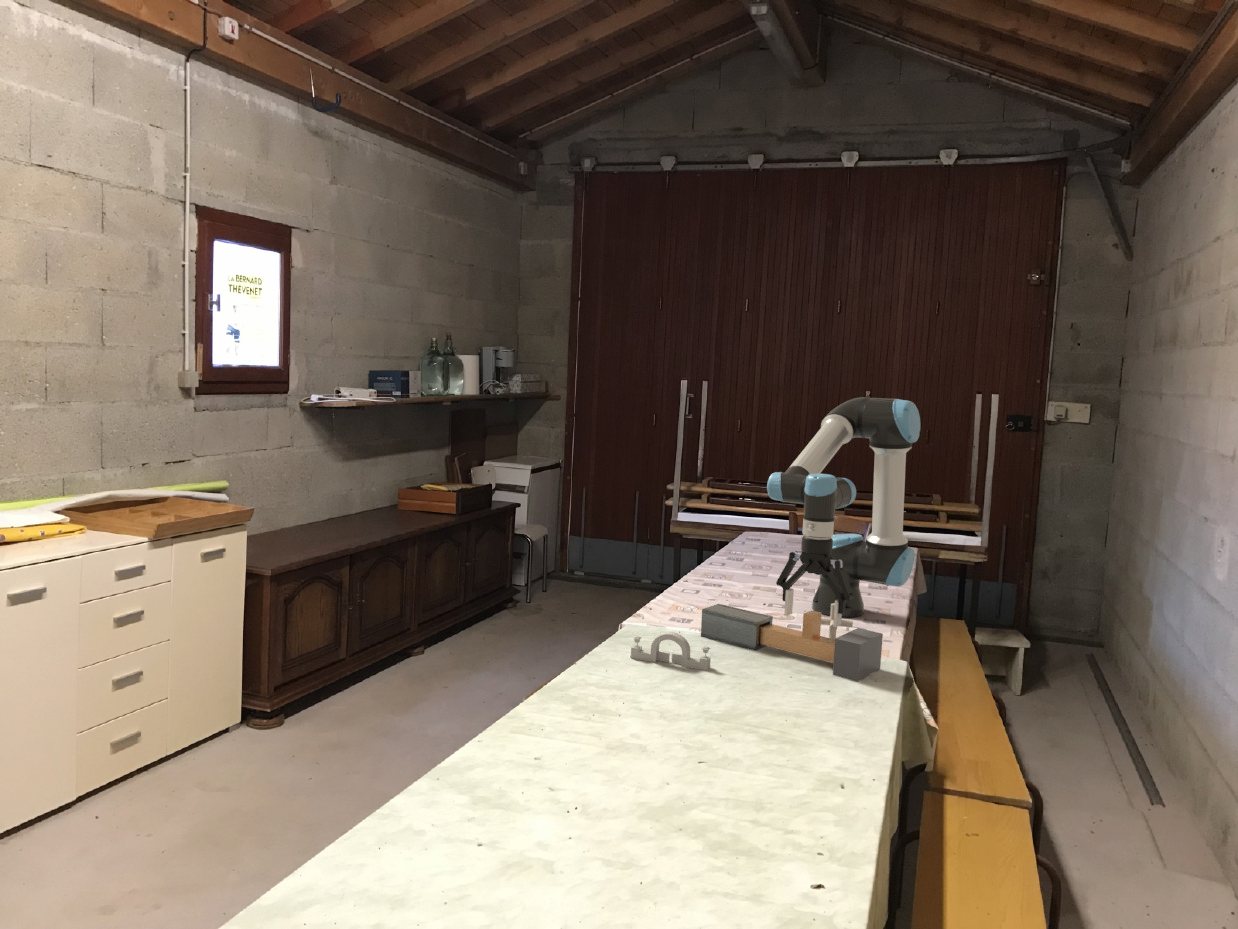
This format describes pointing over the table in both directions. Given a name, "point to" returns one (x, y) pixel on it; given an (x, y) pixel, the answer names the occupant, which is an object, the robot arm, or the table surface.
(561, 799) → the table surface
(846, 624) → the cream cross joint
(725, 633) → the sleeve
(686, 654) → the gateway
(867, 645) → the socket block
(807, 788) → the table surface
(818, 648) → the orange-brown sliding bolt
